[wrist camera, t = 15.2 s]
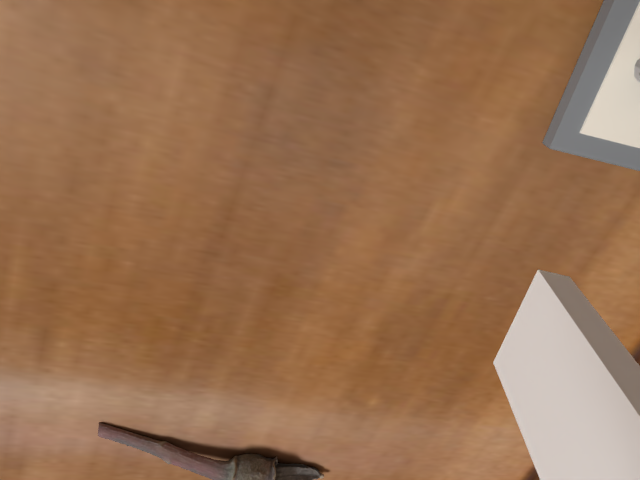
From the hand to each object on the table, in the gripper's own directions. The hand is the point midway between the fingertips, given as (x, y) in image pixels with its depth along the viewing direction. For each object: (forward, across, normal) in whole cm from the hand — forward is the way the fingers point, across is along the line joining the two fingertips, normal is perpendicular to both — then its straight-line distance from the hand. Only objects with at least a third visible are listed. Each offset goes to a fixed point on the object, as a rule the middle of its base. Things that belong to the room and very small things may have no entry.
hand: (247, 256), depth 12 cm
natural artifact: (+27, -2, -37) cm, 46 cm away
